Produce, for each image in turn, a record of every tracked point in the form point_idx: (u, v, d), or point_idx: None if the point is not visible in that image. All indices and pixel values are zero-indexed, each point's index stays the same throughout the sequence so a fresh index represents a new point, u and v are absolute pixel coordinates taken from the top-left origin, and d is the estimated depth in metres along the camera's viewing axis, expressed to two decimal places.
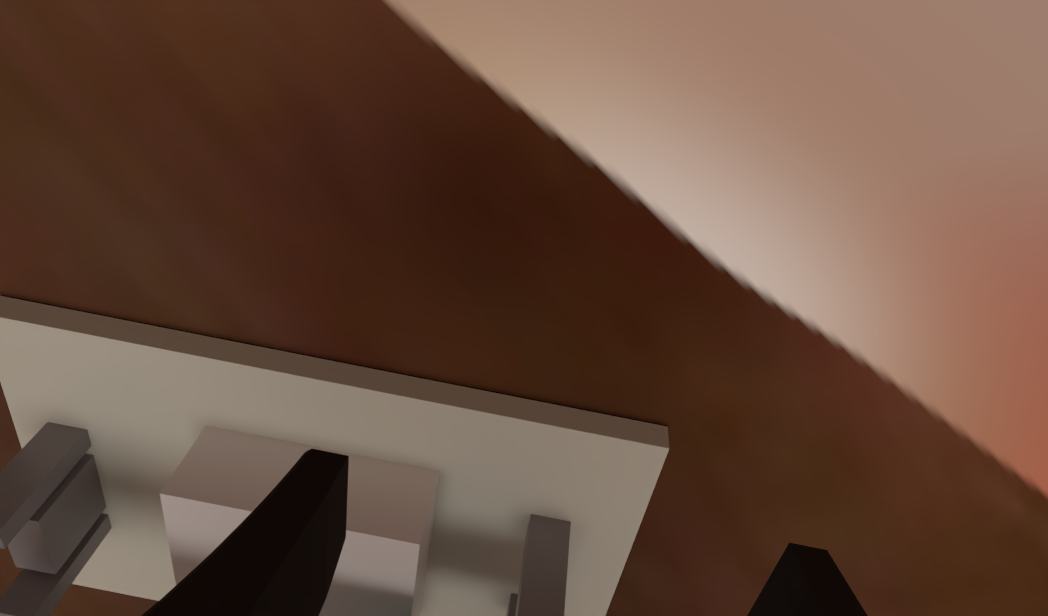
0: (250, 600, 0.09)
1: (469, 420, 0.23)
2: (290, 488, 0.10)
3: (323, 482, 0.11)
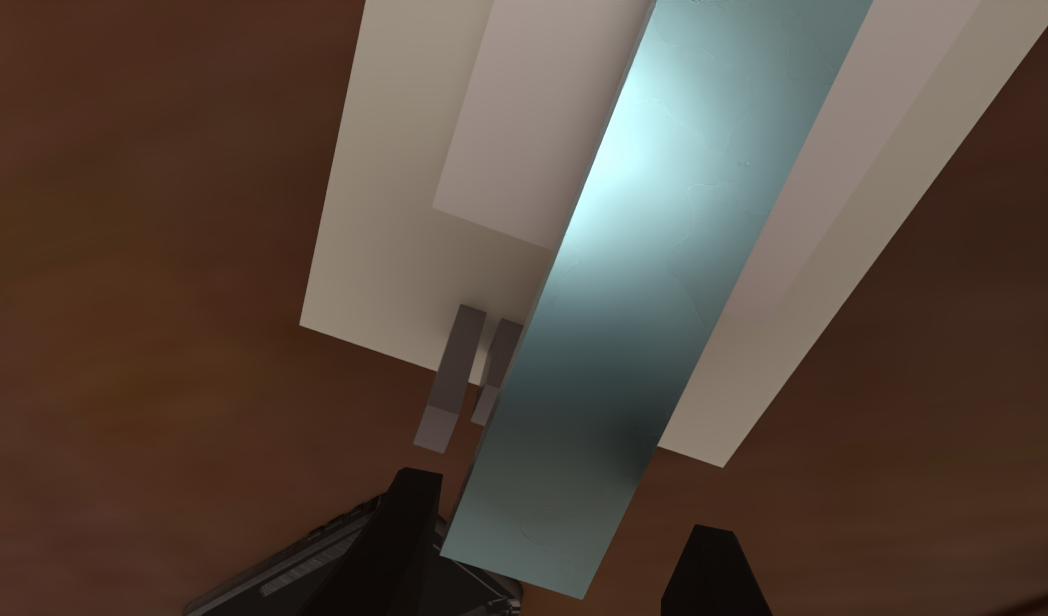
0: None
1: None
2: (394, 508, 0.10)
3: (424, 502, 0.11)
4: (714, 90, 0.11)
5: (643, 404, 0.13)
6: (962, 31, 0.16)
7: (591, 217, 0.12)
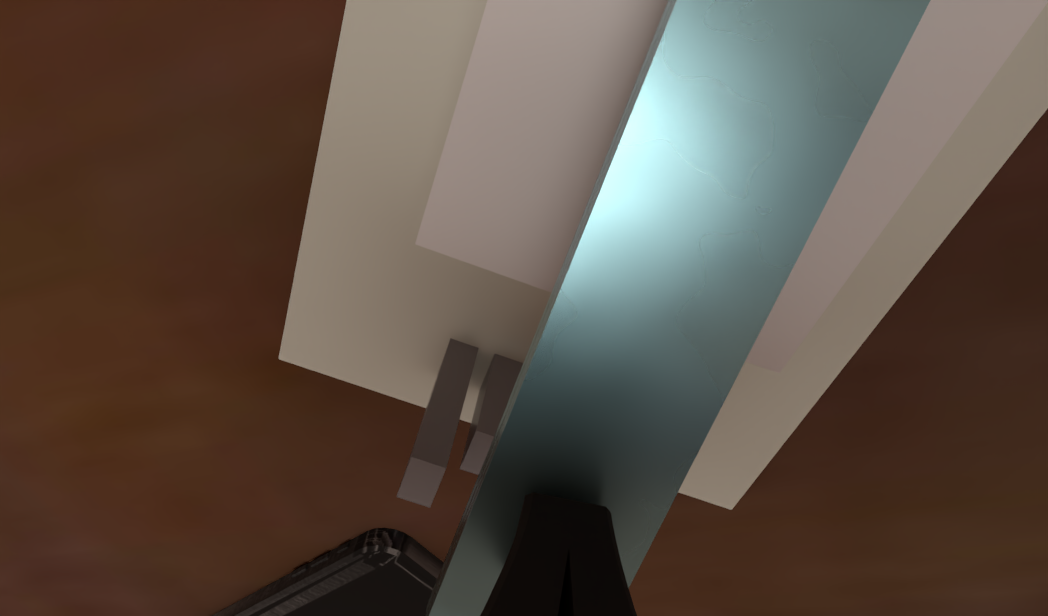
0: None
1: None
2: (533, 536, 0.10)
3: (560, 529, 0.11)
4: (731, 128, 0.10)
5: (648, 475, 0.12)
6: None
7: (591, 269, 0.11)
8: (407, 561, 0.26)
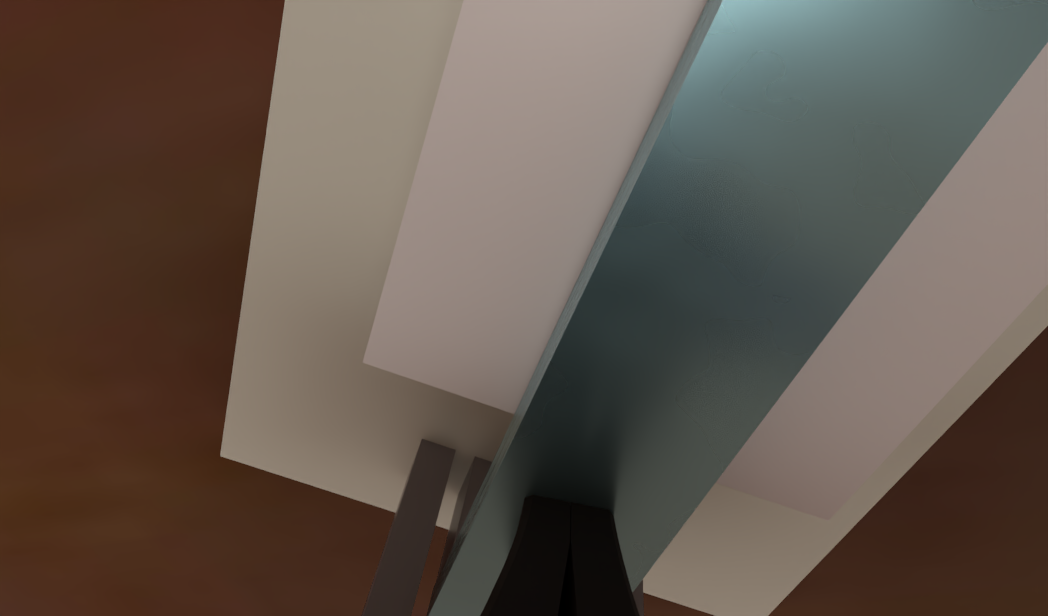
0: None
1: None
2: (533, 536, 0.10)
3: (560, 529, 0.11)
4: (749, 214, 0.08)
5: (642, 524, 0.11)
6: None
7: (582, 346, 0.10)
8: None
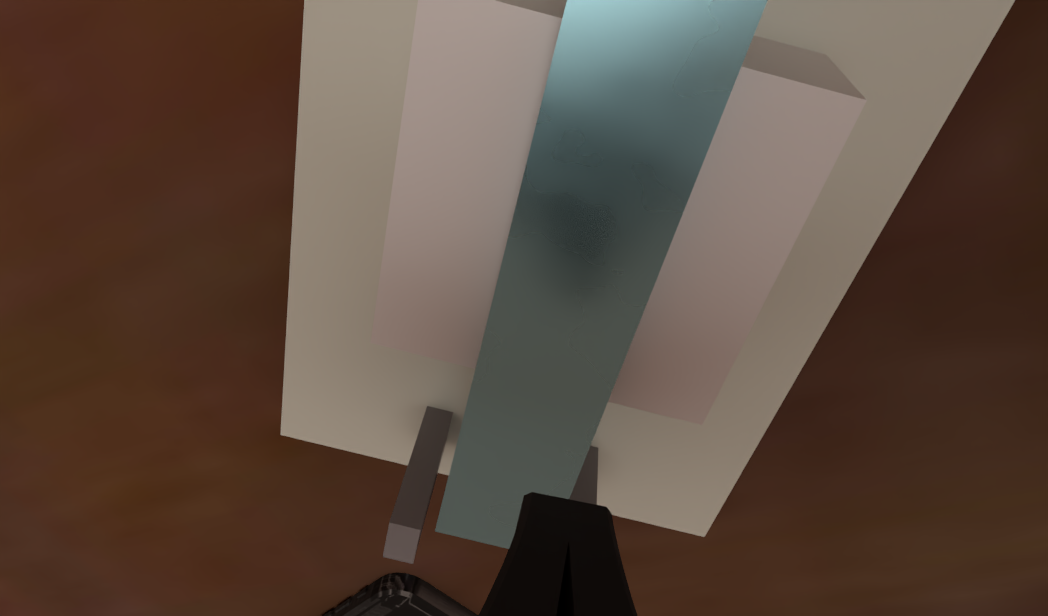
0: None
1: None
2: (532, 536, 0.10)
3: (559, 529, 0.11)
4: (585, 222, 0.14)
5: (568, 435, 0.17)
6: (864, 128, 0.16)
7: (504, 314, 0.15)
8: (419, 601, 0.28)
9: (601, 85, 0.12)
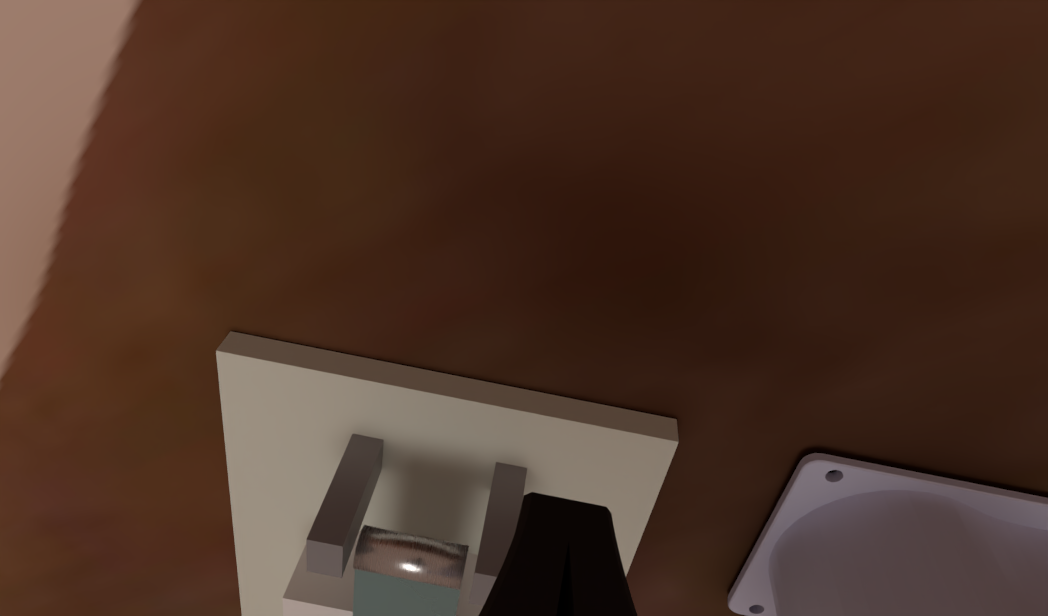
0: None
1: (243, 495, 0.25)
2: (532, 536, 0.10)
3: (559, 528, 0.11)
4: None
5: None
6: None
7: None
8: None
9: None
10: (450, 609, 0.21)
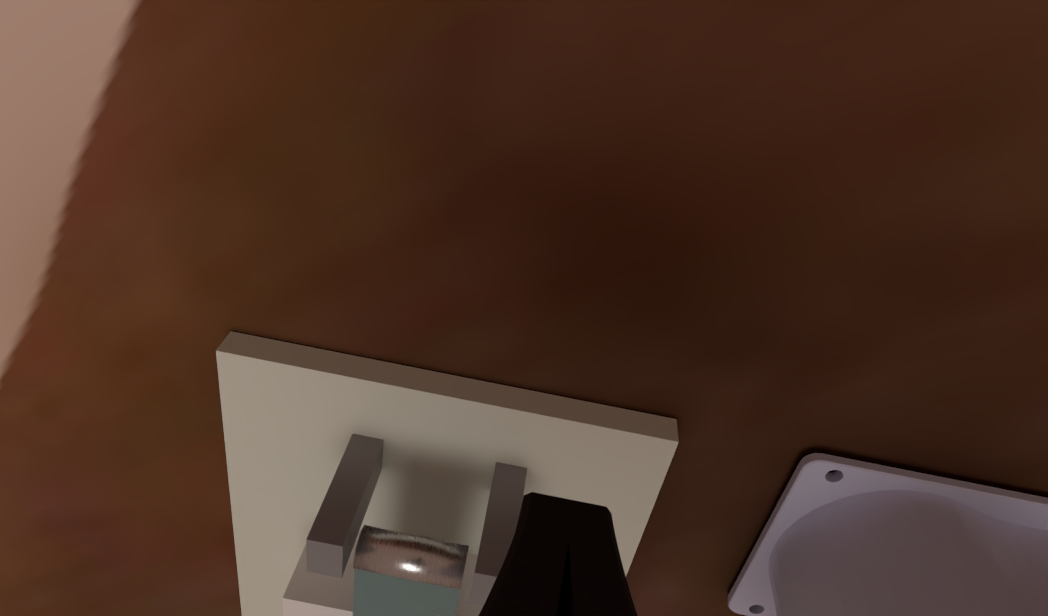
0: None
1: (243, 495, 0.25)
2: (532, 536, 0.10)
3: (559, 528, 0.11)
4: None
5: None
6: None
7: None
8: None
9: None
10: (450, 609, 0.21)
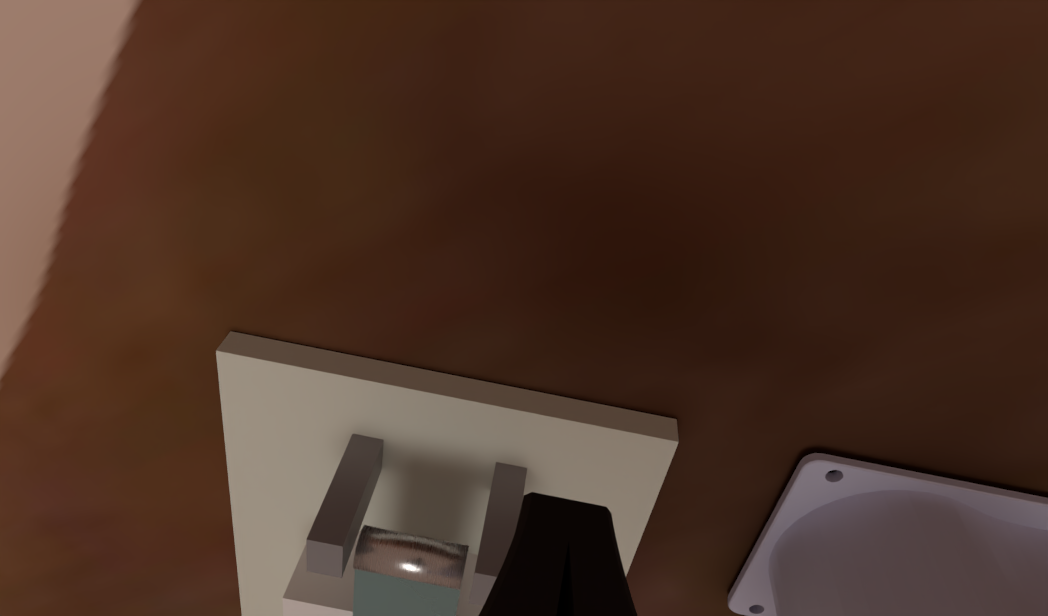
0: None
1: (243, 495, 0.25)
2: (532, 536, 0.10)
3: (559, 528, 0.11)
4: None
5: None
6: None
7: None
8: None
9: None
10: (450, 609, 0.21)
